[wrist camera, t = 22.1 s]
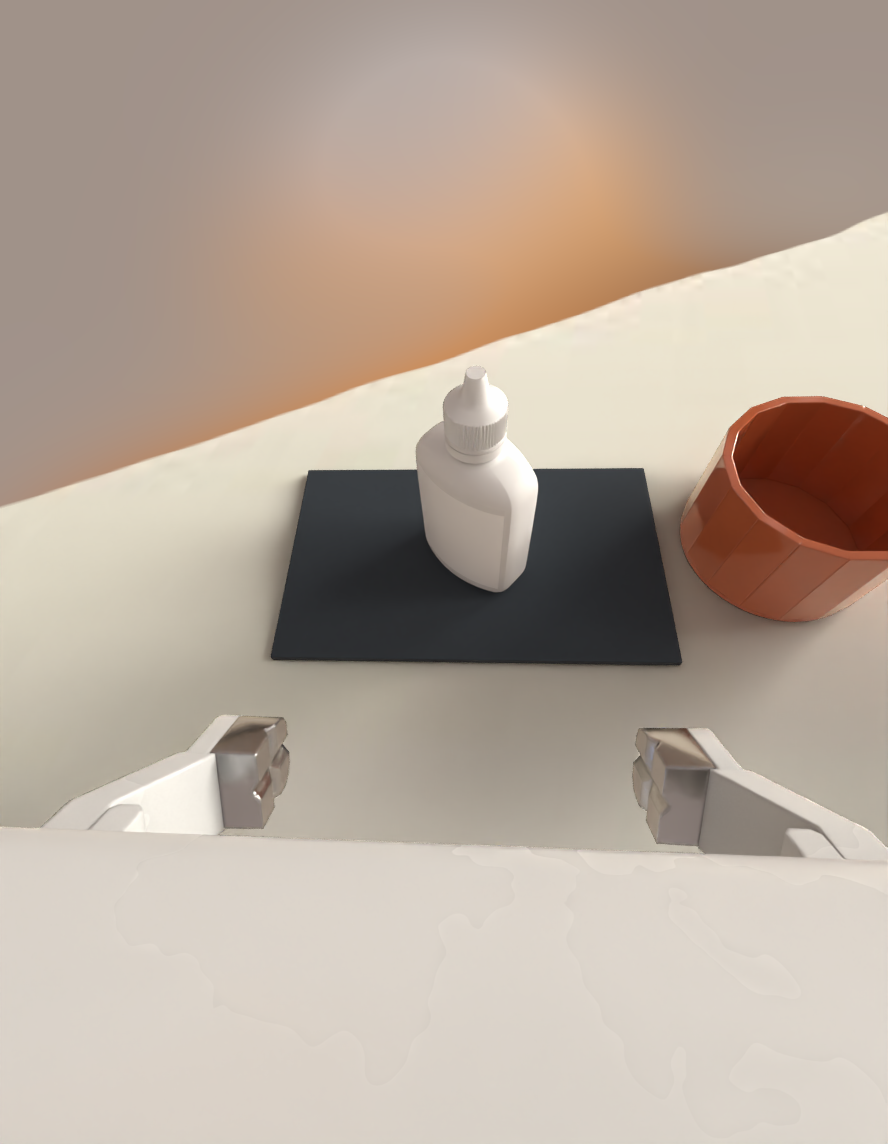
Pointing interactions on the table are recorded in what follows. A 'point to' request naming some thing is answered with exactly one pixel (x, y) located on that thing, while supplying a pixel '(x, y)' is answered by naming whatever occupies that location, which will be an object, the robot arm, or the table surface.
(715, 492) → the cup
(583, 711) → the table surface
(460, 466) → the eye dropper bottle
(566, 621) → the mat
